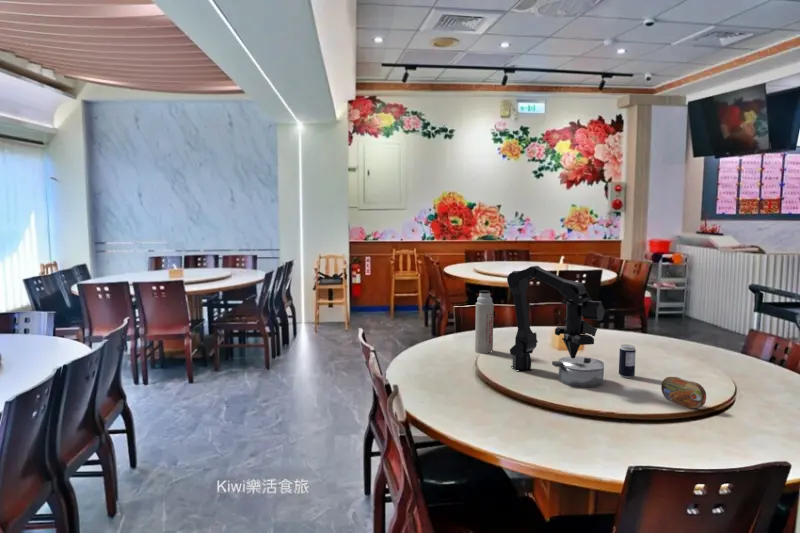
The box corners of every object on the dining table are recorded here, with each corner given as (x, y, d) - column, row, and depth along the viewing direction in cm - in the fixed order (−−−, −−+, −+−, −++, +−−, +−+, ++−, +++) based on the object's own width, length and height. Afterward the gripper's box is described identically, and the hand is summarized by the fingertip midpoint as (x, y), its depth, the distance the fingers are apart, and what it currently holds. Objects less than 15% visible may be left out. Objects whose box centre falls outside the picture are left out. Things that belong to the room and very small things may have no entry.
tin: (660, 397, 185) (661, 373, 184) (666, 396, 186) (667, 372, 186) (700, 412, 172) (702, 386, 171) (707, 410, 173) (708, 385, 172)
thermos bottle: (496, 352, 246) (497, 291, 243) (481, 354, 242) (482, 292, 239) (485, 348, 253) (486, 288, 250) (471, 350, 249) (472, 290, 246)
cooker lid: (564, 372, 193) (564, 366, 193) (544, 360, 208) (544, 354, 208) (613, 369, 196) (613, 363, 196) (589, 358, 212) (589, 352, 212)
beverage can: (634, 375, 211) (636, 345, 209) (634, 379, 205) (635, 348, 204) (619, 373, 213) (620, 343, 212) (618, 377, 208) (619, 346, 207)
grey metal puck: (571, 389, 194) (572, 372, 193) (550, 376, 210) (551, 360, 209) (612, 386, 197) (612, 370, 196) (588, 373, 213) (589, 358, 212)
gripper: (608, 320, 193) (606, 363, 194) (581, 311, 211) (579, 351, 212) (579, 322, 191) (578, 365, 192) (554, 312, 209) (553, 352, 210)
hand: (573, 358), depth 202 cm, fingers closed
